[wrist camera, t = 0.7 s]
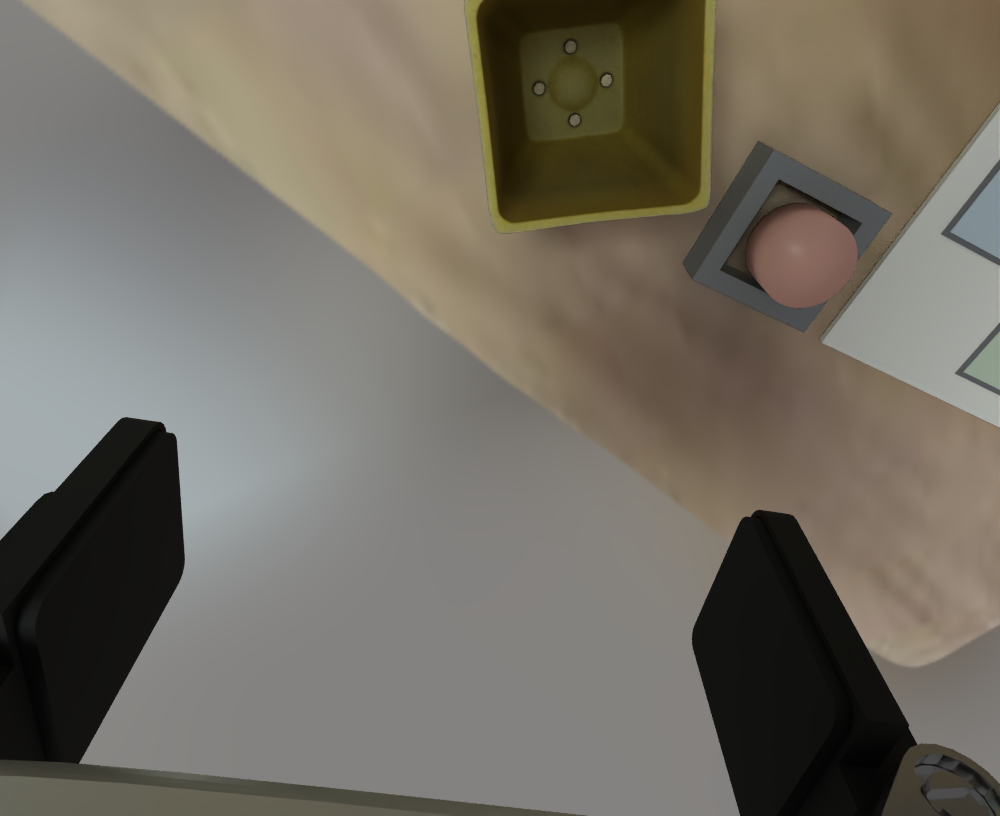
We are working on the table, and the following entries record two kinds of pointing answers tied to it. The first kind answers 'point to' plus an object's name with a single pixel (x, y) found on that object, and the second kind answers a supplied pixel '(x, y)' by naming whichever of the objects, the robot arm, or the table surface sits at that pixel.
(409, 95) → the table surface
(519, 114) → the flower pot
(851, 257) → the button
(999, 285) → the sheet
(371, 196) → the table surface
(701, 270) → the button collar
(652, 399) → the table surface
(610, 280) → the table surface
